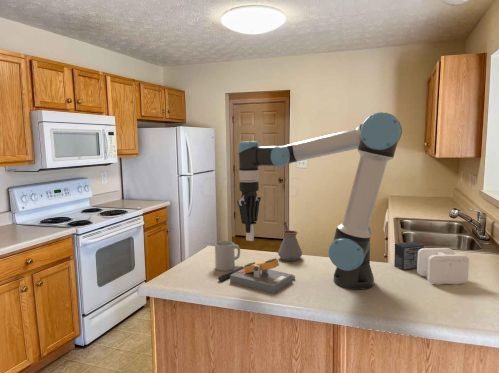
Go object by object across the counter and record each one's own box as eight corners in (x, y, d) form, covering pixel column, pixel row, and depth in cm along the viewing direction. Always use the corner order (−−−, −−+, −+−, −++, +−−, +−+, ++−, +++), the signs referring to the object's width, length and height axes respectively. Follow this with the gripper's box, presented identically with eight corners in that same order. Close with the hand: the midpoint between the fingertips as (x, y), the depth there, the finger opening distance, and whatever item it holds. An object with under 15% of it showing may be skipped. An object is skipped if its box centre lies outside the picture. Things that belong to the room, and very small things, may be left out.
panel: (292, 281, 143) (292, 263, 142) (273, 293, 131) (273, 274, 131) (250, 272, 154) (250, 254, 153) (230, 282, 143) (229, 263, 142)
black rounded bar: (244, 270, 156) (244, 266, 156) (221, 282, 143) (221, 277, 143) (241, 269, 157) (241, 265, 157) (217, 281, 144) (217, 276, 144)
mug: (221, 272, 154) (221, 247, 153) (212, 266, 161) (211, 242, 160) (245, 266, 161) (244, 242, 160) (234, 261, 168) (234, 238, 167)
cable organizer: (452, 275, 148) (454, 247, 147) (468, 285, 138) (470, 255, 136) (416, 275, 148) (417, 248, 147) (429, 286, 137) (430, 256, 136)
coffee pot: (304, 262, 166) (305, 230, 165) (279, 263, 166) (279, 230, 164) (295, 248, 188) (295, 220, 186) (273, 249, 187) (273, 220, 185)
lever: (279, 265, 140) (277, 257, 140) (273, 268, 136) (271, 260, 137) (251, 270, 148) (249, 263, 148) (245, 273, 144) (243, 265, 145)
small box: (413, 263, 163) (414, 240, 162) (424, 268, 157) (425, 244, 155) (393, 266, 160) (394, 242, 159) (403, 271, 154) (404, 246, 152)
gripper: (250, 179, 149) (251, 235, 151) (231, 182, 138) (232, 242, 141) (266, 180, 145) (266, 237, 147) (247, 183, 134) (248, 245, 137)
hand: (250, 240), depth 144 cm, fingers closed
